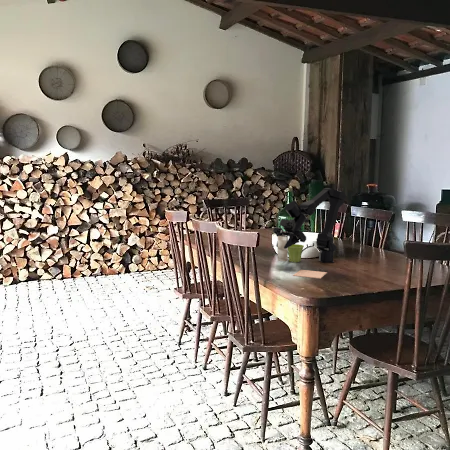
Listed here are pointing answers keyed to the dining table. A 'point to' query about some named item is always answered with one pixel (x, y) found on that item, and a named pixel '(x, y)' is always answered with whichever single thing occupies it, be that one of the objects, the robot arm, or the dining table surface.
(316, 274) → the placemat
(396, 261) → the dining table surface
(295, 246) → the plant pot
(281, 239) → the white cylinder
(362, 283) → the dining table surface
